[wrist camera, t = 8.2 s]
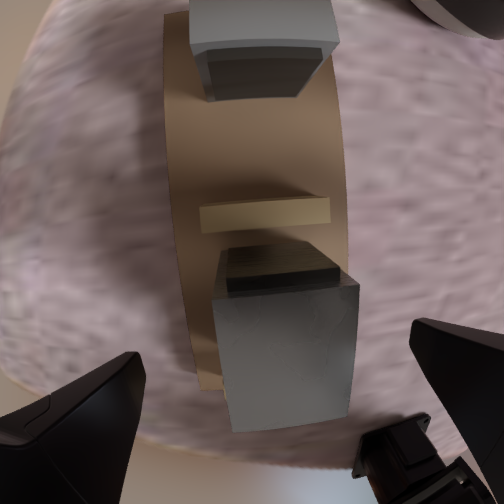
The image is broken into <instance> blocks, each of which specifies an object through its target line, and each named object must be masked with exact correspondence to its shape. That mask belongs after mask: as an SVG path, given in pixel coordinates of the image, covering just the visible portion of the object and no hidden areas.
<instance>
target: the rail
mask: <svg viewBox="0 0 504 504" xmlns="http://www.w3.org/2000/svg"><path fill="white" fill-rule="evenodd" d="M339 43H340V40H339V35H338V30H337V25H336V21H335V16H334V12H333V8H332V4H331V0H189V11H183V12H177V13H171V14H165V15H164V38H163V81H164V115H165V135H166V151H167V165H168V178H169V189H170V200H171V210H172V219H173V228H174V236H175V244H176V252H177V260H178V267H179V274H180V281H181V287H182V294H183V300H184V306H185V312H186V318H187V324H188V329H189V335H190V340H191V345H192V351H193V356H194V361H195V366H196V370H197V375H198V380H199V384H200V389H201V391H208V390H224V396H225V400H227V399H226V393H225V387H224V381H223V375H222V369H221V363H220V356H219V349H218V343H217V336H216V329H215V322H214V315H213V307H212V295H213V289H214V284H215V279H216V274H217V268H218V263H219V258H220V253H221V251H223V250H228V248H234V247H245V246H257V245H268V244H280V243H291V242H303V241H308V242H309V243H310V244H312V245H313V246H314V247H316V248H317V249H318V250H319V251H321V252H322V253H323V254H325V255H326V256H327V257H328V258H330V259H331V260H332V261H333V262H335V263H336V264H337V265H339V266H340V269H342V270H343V271H344V272H345V273H346V274H348V218H347V193H346V176H345V162H344V149H343V138H342V128H341V119H340V110H339V102H338V95H337V87H336V81H335V74H334V68H333V61H332V56H331V53H332V52H333V50H334V49H335V48H336V47H337V45H338V44H339Z"/></svg>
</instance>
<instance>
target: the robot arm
mask: <svg viewBox="0 0 504 504" xmlns="http://www.w3.org/2000/svg"><path fill="white" fill-rule="evenodd" d="M409 345H410V348H411V350H412V352H413V354H414V356H415V358H416V360H417V362H418V364H419V366H420V368H421V370H422V371H423V373H424V375H425V377H426V379H427V381H428V382H429V384H430V385H431V387H432V388H433V390H434V392H435V393H436V395H437V396H438V398H439V399H440V401H441V403H442V404H443V406H444V407H445V409H446V411H447V412H448V414H449V415H450V417H451V419H452V420H453V422H454V424H455V425H456V427H457V429H458V430H459V432H460V434H461V436H462V437H463V439H464V441H465V442H466V444H467V446H468V448H469V449H470V451H471V453H472V455H473V457H474V458H475V460H476V462H477V464H478V466H479V467H481V468H480V470H481V472H482V473H483V475H484V477H485V479H486V481H487V483H488V485H489V487H490V489H491V491H492V493H493V495H494V497H495V499H496V501H497V503H498V504H504V334H499V333H494V332H489V331H484V330H479V329H475V328H470V327H465V326H460V325H456V324H451V323H446V322H442V321H437V320H433V319H428V318H419V319H415V320H414V321H413V322H412V326H411V332H410V339H409ZM145 383H146V373H145V370H144V366H143V363H142V359H141V356H140V354H139V353H138V352H125V353H123V354H121V355H119V356H118V357H116V358H114V359H112V360H111V361H109V362H107V363H105V364H103V365H102V366H100V367H98V368H96V369H95V370H93V371H91V372H89V373H87V374H86V375H84V376H82V377H80V378H78V379H76V380H75V381H73V382H71V383H69V384H67V385H66V386H64V387H62V388H60V389H58V390H56V391H54V392H53V393H51V395H47V396H45V397H43V398H41V399H40V400H38V401H36V402H34V403H32V404H30V405H28V406H25V407H23V408H21V409H19V410H16V411H14V412H12V413H9V414H7V415H5V416H2V417H0V504H119V501H120V497H121V492H122V488H123V483H124V479H125V475H126V471H127V466H128V463H129V458H130V455H131V451H132V447H133V443H134V439H135V435H136V432H137V428H138V424H139V420H140V416H141V409H142V402H143V396H144V389H145ZM430 420H431V417H430V416H429V414H425V415H422V416H419V417H417V418H414V419H411V420H408V421H405V422H402V423H399V424H396V425H393V426H390V427H387V428H383V429H380V430H377V431H373V432H370V433H366V434H365V435H363V436H362V437H361V440H360V444H359V448H358V452H357V456H356V460H355V463H354V467H353V471H352V477H353V479H356V478H360V477H364V476H367V478H368V481H369V483H370V485H371V487H372V490H373V492H374V495H375V497H376V499H377V502H378V504H496V502H495V500H494V498H493V497H492V495H491V493H490V492H489V490H488V489H487V487H486V486H485V485H484V484H483V482H482V481H481V480H480V479H479V478H478V477H477V475H476V474H475V473H474V472H473V470H472V469H471V468H470V467H469V466H468V464H467V463H466V462H465V461H464V460H463V459H462V457H461V456H459V457H458V458H457V459H455V460H454V462H453V463H452V464H450V465H449V466H447V467H446V465H445V464H444V462H443V461H442V459H441V458H440V456H439V455H438V453H437V450H436V448H435V447H434V445H433V444H432V442H431V441H430V440H429V438H428V437H427V435H426V434H425V433H426V430H427V428H428V425H429V423H430ZM461 481H463V483H462V484H460V483H459V482H461Z"/></svg>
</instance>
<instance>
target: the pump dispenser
mask: <svg viewBox="0 0 504 504" xmlns="http://www.w3.org/2000/svg"><path fill="white" fill-rule="evenodd" d="M411 1H412V2H413V3H414V4H415V5H416V6H417V7H418V8H419V9H420V10H421V11H422V12H423V13H424V14H425V15H427V16H428V17H429V18H430V19H432V20H433V21H435V22H436V23H438V24H439V25H441V26H442V27H444V28H446V29H448V30H450V31H452V32H455V33H457V34H460V35H463V36H467V37H472V38H489V39H493V40H503V39H504V0H411Z"/></svg>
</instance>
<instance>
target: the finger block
mask: <svg viewBox="0 0 504 504" xmlns="http://www.w3.org/2000/svg"><path fill="white" fill-rule="evenodd" d="M359 291H360V284H359V283H357V282H356V281H355V280H354V279H353V278H351V277H350V276H349V275H348V274H346V273H345V272H344V271H343V270H342V269H340V266H339V265H337V264H336V263H335V262H333V261H332V260H331V259H330V258H328V257H327V256H326V255H325V254H323V253H322V252H321V251H319V250H318V249H317V248H316V247H314V246H313V245H312V244H310V243H309V242H308V241H303V242H291V243H280V244H268V245H257V246H245V247H234V248H228V250H223V251H221V253H220V258H219V263H218V268H217V274H216V279H215V284H214V289H213V295H212V307H213V315H214V322H215V329H216V336H217V343H218V349H219V356H220V363H221V369H222V375H223V381H224V387H225V393H226V399H227V405H228V411H229V416H230V422H231V427H232V433H237V432H250V431H261V430H270V429H279V428H286V427H293V426H300V425H306V424H312V423H318V422H323V421H328V420H333V419H338V418H343V417H347V415H348V408H349V401H350V394H351V387H352V379H353V370H354V361H355V351H356V340H357V327H358V311H359Z"/></svg>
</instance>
